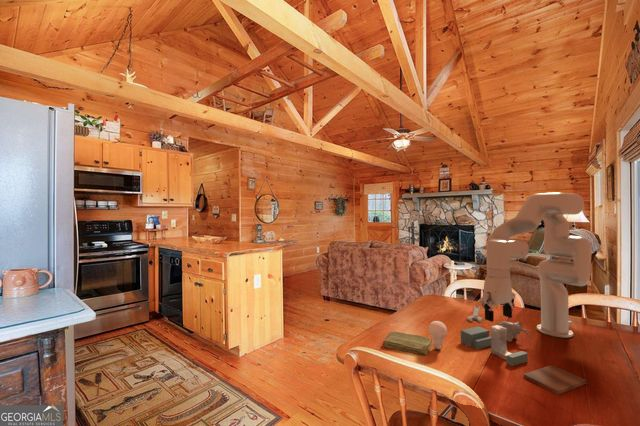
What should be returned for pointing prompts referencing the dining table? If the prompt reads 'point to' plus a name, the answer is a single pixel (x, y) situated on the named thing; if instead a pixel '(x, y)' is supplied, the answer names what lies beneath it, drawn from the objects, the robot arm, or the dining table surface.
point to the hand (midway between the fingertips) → (498, 318)
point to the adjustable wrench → (475, 315)
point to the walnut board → (555, 379)
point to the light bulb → (437, 333)
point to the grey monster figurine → (512, 329)
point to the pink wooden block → (499, 341)
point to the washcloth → (407, 342)
